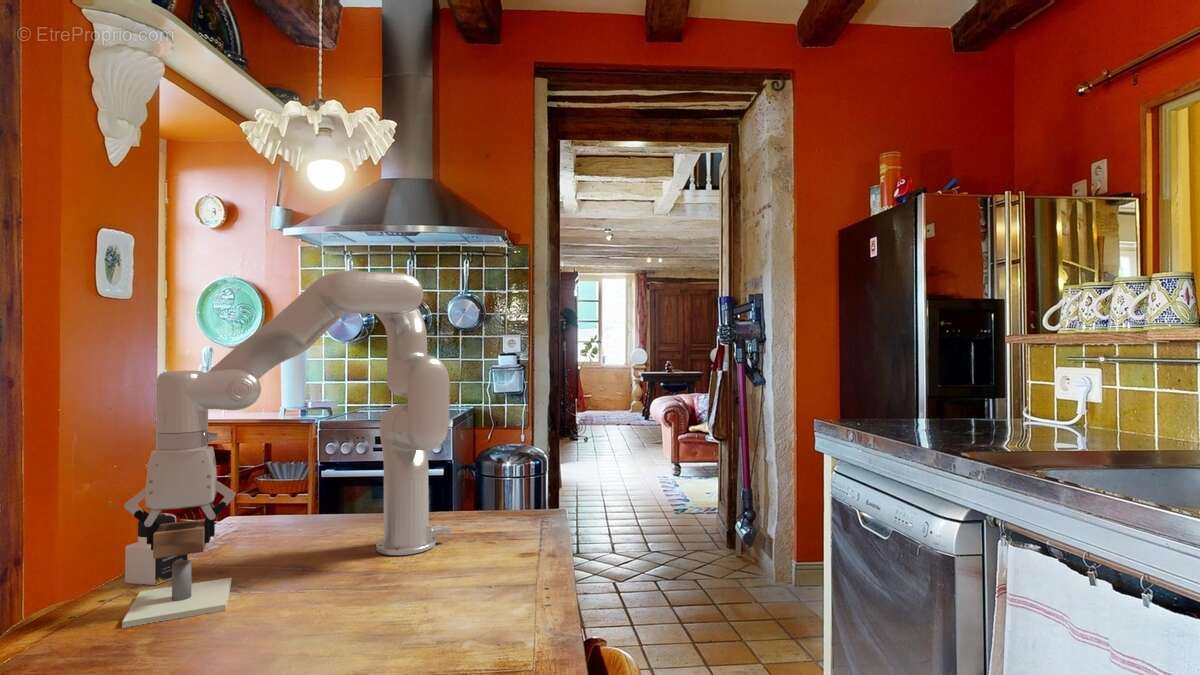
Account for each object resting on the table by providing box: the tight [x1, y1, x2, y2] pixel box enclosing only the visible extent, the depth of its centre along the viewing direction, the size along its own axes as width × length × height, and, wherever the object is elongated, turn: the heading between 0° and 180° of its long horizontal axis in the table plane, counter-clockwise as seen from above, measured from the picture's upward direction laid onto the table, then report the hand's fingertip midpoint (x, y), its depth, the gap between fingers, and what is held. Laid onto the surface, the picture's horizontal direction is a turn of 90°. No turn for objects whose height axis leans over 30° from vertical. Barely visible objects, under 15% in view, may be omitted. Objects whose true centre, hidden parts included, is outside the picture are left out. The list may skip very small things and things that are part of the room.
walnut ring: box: [153, 518, 208, 559], centre depth 107 cm, size 7×7×4 cm
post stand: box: [121, 559, 233, 629], centre depth 107 cm, size 14×14×7 cm
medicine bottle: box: [124, 512, 189, 586], centre depth 119 cm, size 7×7×12 cm
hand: (181, 543), depth 107 cm, fingers closed on walnut ring, 7 cm apart
